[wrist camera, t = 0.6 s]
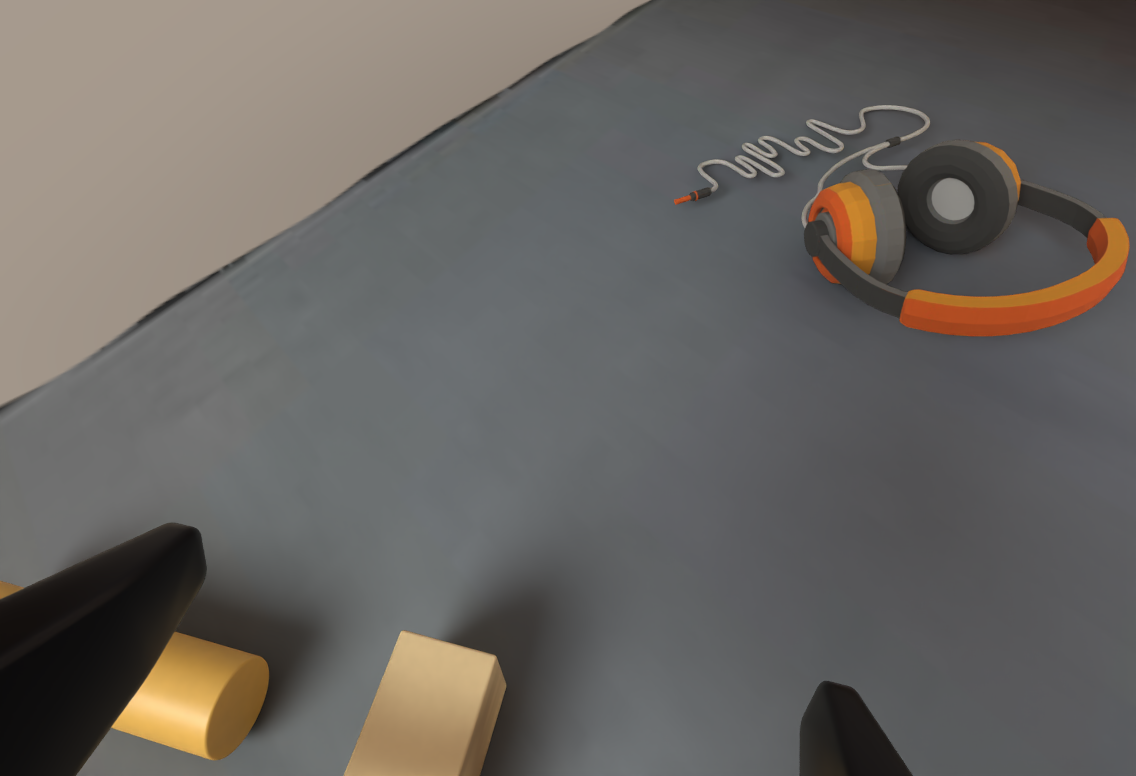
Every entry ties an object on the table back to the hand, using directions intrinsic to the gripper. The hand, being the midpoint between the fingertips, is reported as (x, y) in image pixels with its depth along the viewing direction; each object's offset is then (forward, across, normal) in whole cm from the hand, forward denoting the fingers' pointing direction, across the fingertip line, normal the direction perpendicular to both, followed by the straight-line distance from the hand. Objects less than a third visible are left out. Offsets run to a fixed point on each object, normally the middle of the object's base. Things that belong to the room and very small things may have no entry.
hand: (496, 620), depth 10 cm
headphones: (+30, -12, +2) cm, 32 cm away
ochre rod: (+6, +13, +14) cm, 20 cm away
